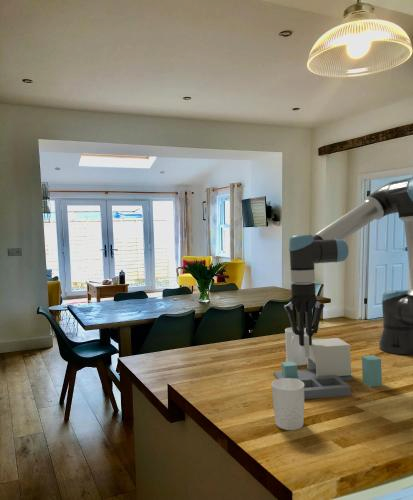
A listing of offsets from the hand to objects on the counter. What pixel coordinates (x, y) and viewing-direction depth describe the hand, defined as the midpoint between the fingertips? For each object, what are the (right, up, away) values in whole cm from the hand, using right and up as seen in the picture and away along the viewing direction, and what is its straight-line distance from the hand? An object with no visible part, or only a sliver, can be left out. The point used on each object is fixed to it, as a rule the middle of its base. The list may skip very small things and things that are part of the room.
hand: (306, 355), depth 126 cm
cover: (+8, -6, +1) cm, 9 cm away
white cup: (-12, -9, -30) cm, 34 cm away
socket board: (+1, -8, -11) cm, 13 cm away
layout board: (+2, -7, 0) cm, 8 cm away
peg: (+18, -7, -7) cm, 21 cm away
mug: (0, -7, +15) cm, 17 cm away
